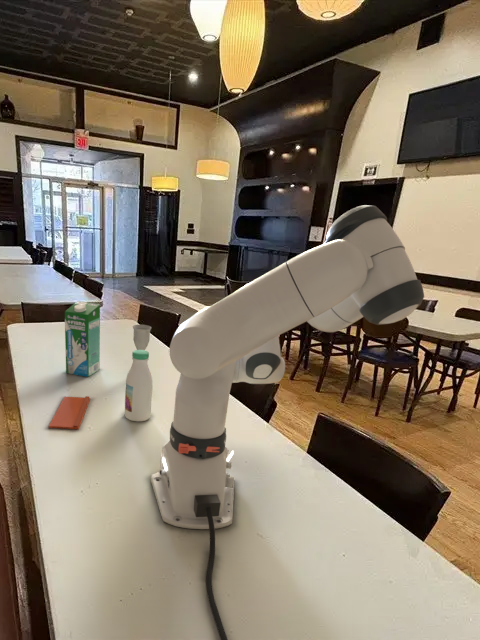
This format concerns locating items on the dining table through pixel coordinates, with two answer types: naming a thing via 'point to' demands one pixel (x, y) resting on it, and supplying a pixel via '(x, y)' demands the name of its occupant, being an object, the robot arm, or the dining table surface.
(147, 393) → the milk bottle
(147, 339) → the chalice
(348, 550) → the dining table surface
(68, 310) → the milk carton
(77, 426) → the roof tile
